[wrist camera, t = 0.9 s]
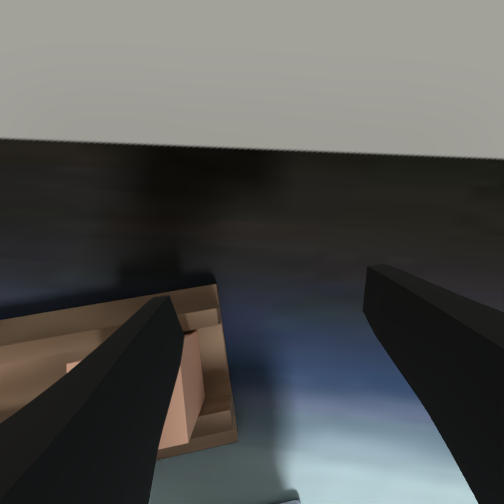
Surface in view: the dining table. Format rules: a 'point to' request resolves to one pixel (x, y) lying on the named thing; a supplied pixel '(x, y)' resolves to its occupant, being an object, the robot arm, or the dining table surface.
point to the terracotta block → (181, 395)
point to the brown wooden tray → (95, 333)
